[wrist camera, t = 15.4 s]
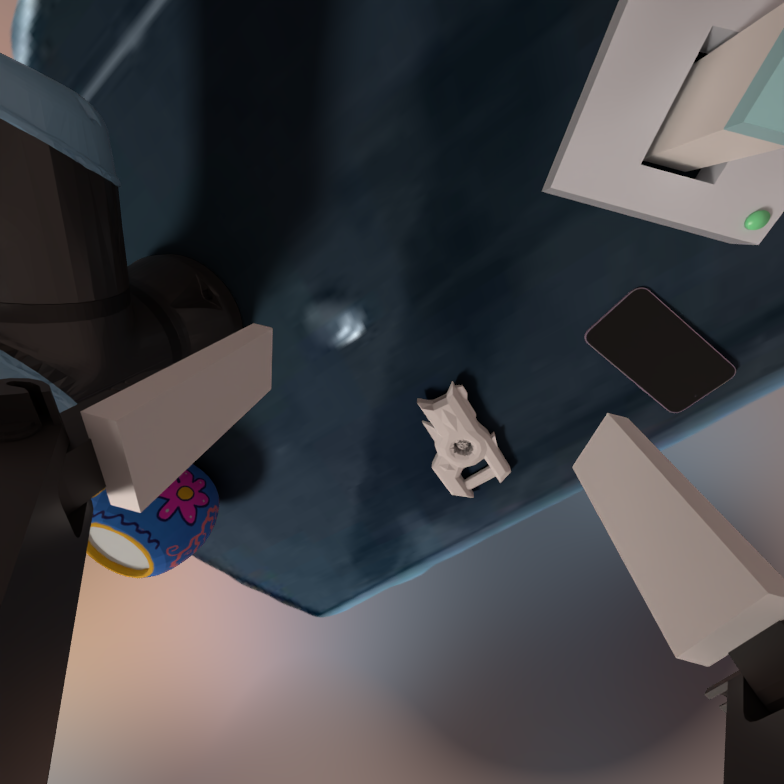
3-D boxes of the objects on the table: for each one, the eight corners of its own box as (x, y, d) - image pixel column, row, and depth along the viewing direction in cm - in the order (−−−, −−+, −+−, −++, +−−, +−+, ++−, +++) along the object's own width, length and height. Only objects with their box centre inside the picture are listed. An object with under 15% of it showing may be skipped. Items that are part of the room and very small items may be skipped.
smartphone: (641, 282, 31) (742, 372, 33) (636, 281, 32) (733, 368, 34) (580, 337, 35) (674, 416, 36) (576, 335, 36) (668, 412, 37)
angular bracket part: (390, 419, 40) (462, 385, 36) (394, 405, 43) (460, 372, 39) (458, 509, 46) (524, 487, 43) (457, 491, 49) (519, 470, 46)
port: (541, 191, 30) (551, 187, 27) (631, -30, 23) (658, -69, 20) (730, 243, 29) (762, 245, 26) (879, 32, 22) (945, 2, 19)
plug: (640, 159, 28) (743, 121, 18) (687, 68, 25) (840, -37, 15) (685, 172, 27) (813, 140, 18) (738, 81, 25) (925, -16, 15)
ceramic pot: (152, 419, 52) (50, 484, 38) (250, 472, 54) (184, 551, 40) (139, 482, 60) (52, 554, 47) (224, 526, 62) (163, 606, 49)
